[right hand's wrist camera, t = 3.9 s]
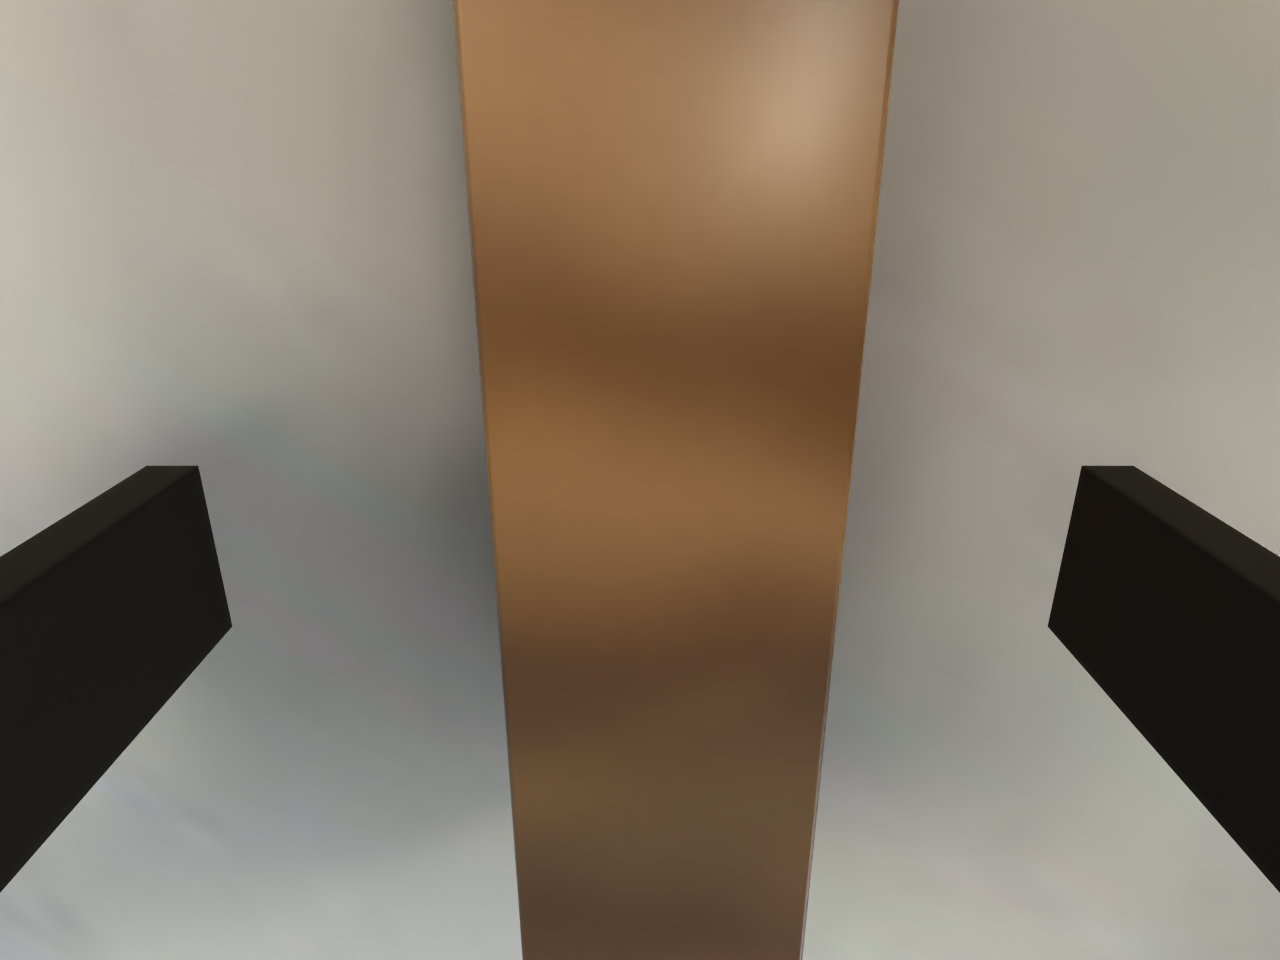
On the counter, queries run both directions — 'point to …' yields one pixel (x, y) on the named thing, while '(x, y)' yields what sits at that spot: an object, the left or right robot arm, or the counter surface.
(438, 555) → the counter surface
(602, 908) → the beam
